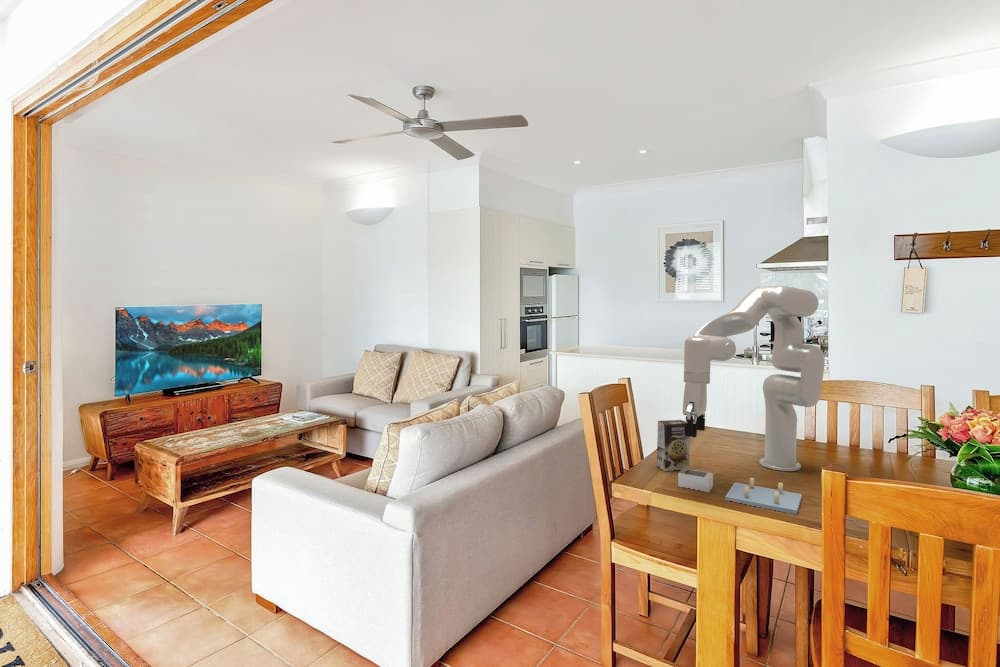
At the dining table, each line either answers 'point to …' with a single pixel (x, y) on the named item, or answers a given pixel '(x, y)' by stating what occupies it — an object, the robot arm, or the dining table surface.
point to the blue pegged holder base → (765, 497)
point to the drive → (695, 480)
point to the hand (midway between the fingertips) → (695, 433)
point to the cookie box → (672, 445)
